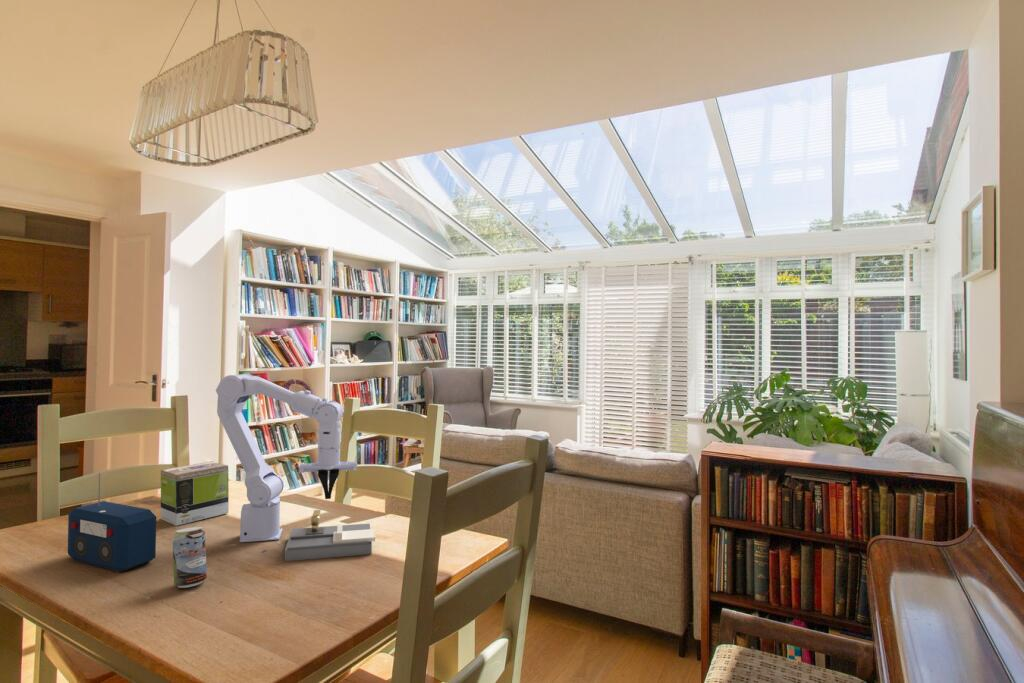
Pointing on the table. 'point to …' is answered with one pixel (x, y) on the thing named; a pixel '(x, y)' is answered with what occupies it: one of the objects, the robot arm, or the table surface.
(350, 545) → the case
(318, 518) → the key
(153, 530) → the radio
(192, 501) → the tea box
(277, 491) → the robot arm
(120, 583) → the table surface
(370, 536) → the cover
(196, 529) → the beverage can
